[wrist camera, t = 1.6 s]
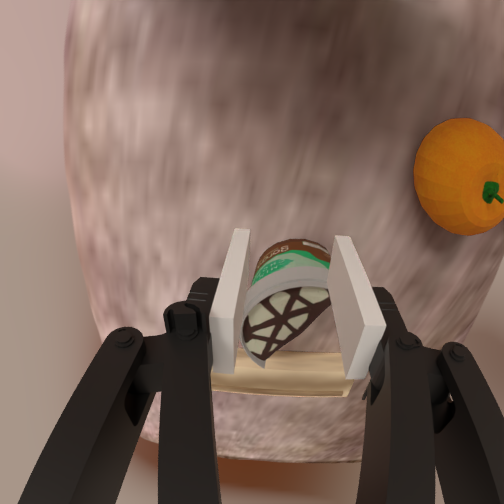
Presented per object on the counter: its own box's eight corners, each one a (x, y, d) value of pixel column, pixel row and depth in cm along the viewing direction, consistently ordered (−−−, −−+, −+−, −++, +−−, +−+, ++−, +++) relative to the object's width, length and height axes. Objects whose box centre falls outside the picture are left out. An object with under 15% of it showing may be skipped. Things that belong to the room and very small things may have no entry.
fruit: (502, 160, 26) (556, 188, 18) (449, 235, 32) (491, 281, 23) (441, 91, 24) (498, 97, 15) (381, 176, 29) (420, 213, 21)
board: (183, 342, 42) (176, 362, 39) (353, 352, 41) (358, 373, 38) (187, 369, 45) (182, 388, 42) (344, 379, 44) (347, 399, 41)
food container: (291, 204, 32) (296, 251, 23) (335, 238, 33) (353, 293, 24) (223, 282, 37) (207, 342, 28) (265, 309, 38) (260, 371, 30)
